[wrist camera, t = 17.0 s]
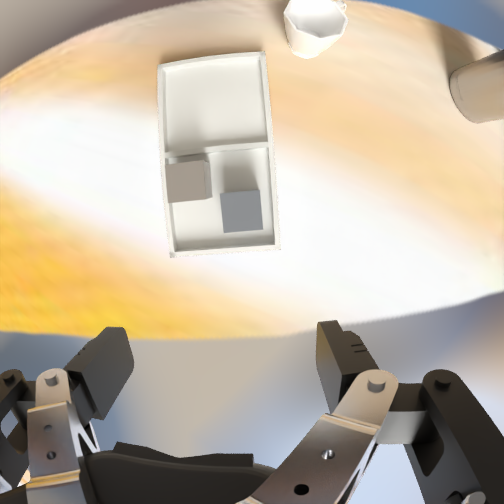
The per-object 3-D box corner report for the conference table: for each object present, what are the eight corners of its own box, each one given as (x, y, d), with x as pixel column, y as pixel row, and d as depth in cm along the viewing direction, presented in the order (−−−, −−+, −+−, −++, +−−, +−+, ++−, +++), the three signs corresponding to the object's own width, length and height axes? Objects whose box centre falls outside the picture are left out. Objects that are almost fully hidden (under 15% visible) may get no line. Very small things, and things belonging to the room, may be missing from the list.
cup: (266, 44, 29) (269, 11, 21) (315, 8, 28) (327, -24, 20) (307, 77, 30) (321, 50, 22) (354, 39, 29) (375, 11, 21)
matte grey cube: (258, 189, 33) (259, 189, 28) (261, 223, 34) (263, 229, 29) (224, 192, 33) (219, 193, 28) (227, 226, 34) (223, 233, 29)
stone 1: (210, 163, 32) (202, 160, 27) (212, 197, 33) (205, 199, 28) (177, 167, 32) (164, 165, 28) (179, 200, 33) (167, 203, 28)
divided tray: (264, 58, 30) (264, 51, 28) (279, 245, 35) (280, 249, 33) (162, 70, 30) (157, 65, 28) (174, 253, 35) (170, 257, 33)
